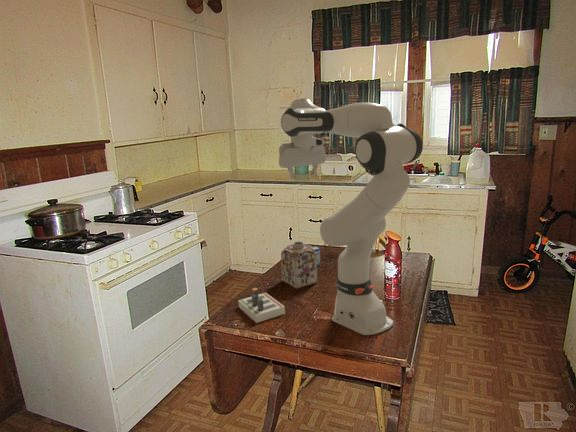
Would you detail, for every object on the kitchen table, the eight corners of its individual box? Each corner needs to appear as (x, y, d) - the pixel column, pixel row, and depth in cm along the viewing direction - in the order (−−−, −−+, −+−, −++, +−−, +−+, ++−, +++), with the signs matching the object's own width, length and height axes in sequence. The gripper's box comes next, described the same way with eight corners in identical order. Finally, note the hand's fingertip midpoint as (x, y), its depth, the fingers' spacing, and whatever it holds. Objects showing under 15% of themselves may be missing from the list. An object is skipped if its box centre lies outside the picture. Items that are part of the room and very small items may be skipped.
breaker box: (284, 313, 157) (284, 297, 155) (256, 323, 151) (255, 305, 150) (266, 299, 170) (265, 283, 168) (239, 307, 164) (237, 291, 162)
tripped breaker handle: (258, 298, 163) (257, 289, 162) (254, 299, 162) (254, 290, 161) (256, 297, 164) (255, 287, 163) (252, 298, 164) (252, 288, 163)
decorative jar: (303, 274, 193) (301, 237, 189) (318, 282, 184) (317, 243, 179) (281, 280, 187) (279, 242, 183) (295, 289, 178) (294, 249, 173)
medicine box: (306, 268, 200) (305, 251, 198) (301, 265, 204) (301, 248, 202) (320, 265, 204) (320, 248, 201) (315, 262, 207) (315, 245, 205)
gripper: (283, 144, 157) (284, 181, 160) (327, 140, 167) (328, 174, 170) (275, 143, 162) (276, 179, 166) (318, 139, 172) (319, 173, 176)
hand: (303, 176), depth 168 cm, fingers open, 8 cm apart
